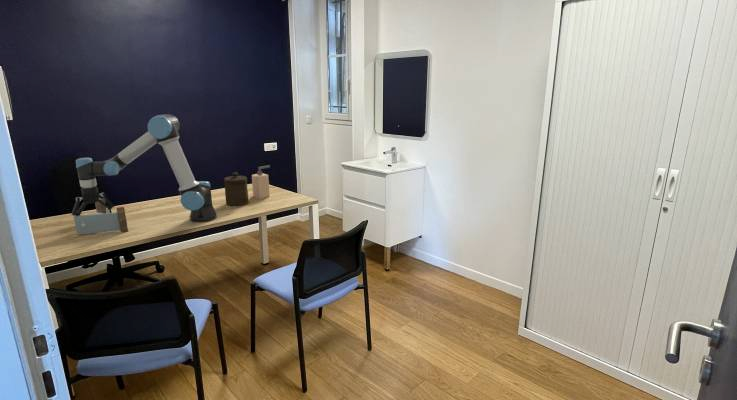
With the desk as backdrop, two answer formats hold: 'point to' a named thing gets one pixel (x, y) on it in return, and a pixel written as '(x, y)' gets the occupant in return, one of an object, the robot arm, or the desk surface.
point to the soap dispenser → (260, 183)
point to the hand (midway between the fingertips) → (96, 223)
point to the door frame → (120, 212)
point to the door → (96, 223)
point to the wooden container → (236, 190)
